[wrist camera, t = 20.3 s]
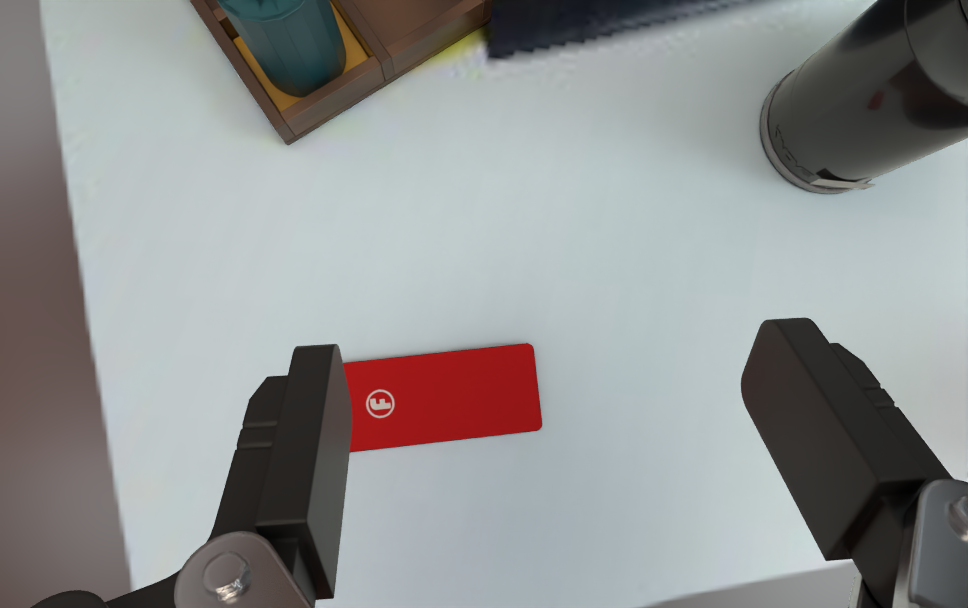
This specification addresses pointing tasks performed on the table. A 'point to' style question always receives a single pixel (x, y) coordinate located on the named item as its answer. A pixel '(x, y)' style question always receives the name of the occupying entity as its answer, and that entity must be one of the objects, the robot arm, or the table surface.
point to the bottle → (291, 41)
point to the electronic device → (443, 397)
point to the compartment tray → (352, 53)
